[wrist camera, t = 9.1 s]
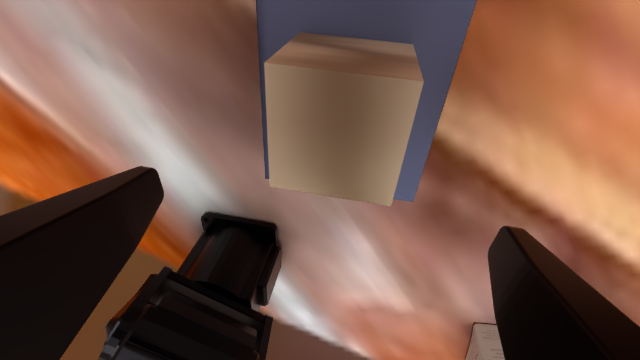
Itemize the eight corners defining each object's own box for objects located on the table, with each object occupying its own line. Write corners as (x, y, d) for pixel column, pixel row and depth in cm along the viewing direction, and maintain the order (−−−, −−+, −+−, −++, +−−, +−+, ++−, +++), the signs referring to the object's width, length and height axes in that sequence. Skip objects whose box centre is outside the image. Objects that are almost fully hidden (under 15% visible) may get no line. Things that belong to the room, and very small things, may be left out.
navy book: (279, 153, 21) (265, 178, 19) (274, -67, 14) (252, -71, 12) (410, 173, 21) (413, 201, 18) (475, -52, 13) (494, -54, 11)
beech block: (297, 132, 17) (269, 186, 13) (299, 32, 14) (264, 62, 10) (390, 145, 16) (390, 206, 12) (413, 44, 13) (424, 81, 9)
